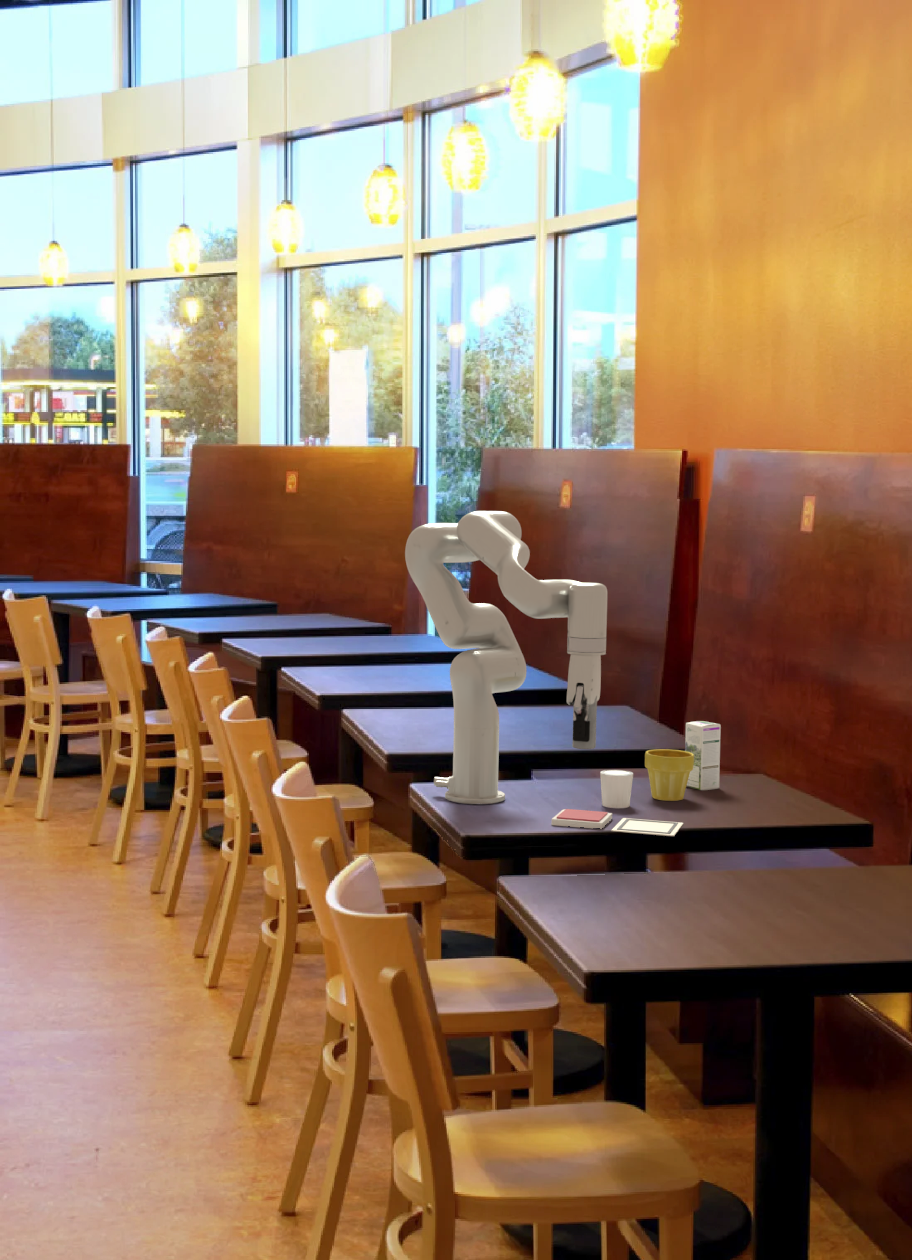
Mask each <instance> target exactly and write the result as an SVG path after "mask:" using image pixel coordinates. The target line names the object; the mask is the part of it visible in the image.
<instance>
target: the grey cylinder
mask: <svg viewBox="0 0 912 1260" xmlns="http://www.w3.org/2000/svg"><path fill="white" fill-rule="evenodd" d="M574 700H575V696H574ZM586 700H587V698H586ZM574 703H575V701H574ZM574 703H573V704H572V705H573V706H572V707H573V709H572V710H573V711H572V712H573V713H572V714H573V715H572V721H573V720H574ZM582 704H583V705H587V703H586V702H582ZM583 709H584V710H585V708H583ZM597 710H598V701H597V696H596V698H595V701H594V703H593V704H592V705H590V706H589V719H588V721H590V740H589V741H588V742H583V741H574V740H573V739H572V742H571V743H572V749H573V748H574V749H578V750H593V749H596V745H597V743H596V742H597V713H598V712H597Z"/></svg>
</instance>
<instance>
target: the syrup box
mask: <svg viewBox="0 0 912 1260" xmlns="http://www.w3.org/2000/svg"><path fill="white" fill-rule="evenodd" d="M721 729H722V727H721V724H720V723H715V722H709V721H704V720H696V721H690V722H685V739H684V740H685V746H684V747H685V748H684V751H686V752H690V753H693V754H694V765H693V770H692V771H690V774H689V778H688V782H687V785H686V788H691V789H694V790H698V791H708V790H709V791H710V790H718V789H720V768H721V767H720V765H721V764H720V763H721V762H720V760H721Z"/></svg>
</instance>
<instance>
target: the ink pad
mask: <svg viewBox="0 0 912 1260" xmlns="http://www.w3.org/2000/svg"><path fill="white" fill-rule="evenodd" d="M611 819H612V820H613V812H608V811H598V810H586V809H585V810H584V809H571V808H565V809H562V810H560V811H559V812H558V813H557V814H556V815H555V816H553V817H552V818H551V822H550V823H551V824H550V825H551V826H558V827H568V826H570V827H571V828H580V827H584V828H583V829H593V828H600V829H599V830H603V829H604V828H605V827H606V826H607V825H608V824H609V823H610V822H611V821H612V820H611ZM609 821H610V822H609ZM607 823H608V824H607ZM606 824H607V825H606ZM605 825H606V826H605ZM570 827H569V828H570ZM602 828H603V829H602Z"/></svg>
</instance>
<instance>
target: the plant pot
mask: <svg viewBox="0 0 912 1260" xmlns="http://www.w3.org/2000/svg"><path fill="white" fill-rule="evenodd" d="M693 765H694V754H693V753H690V752H686V751H685V750H679V749H669V748H666V749H660V748H658V749H649V750H646V751H645V753H644V767H645V768H646V769H647V773H648V779H649V785H650V792H651V793H650V794H651V798H653V799H655V800H659V801H665V802H666V801H667V802H676V801H682V800H684V797H685V792H686V788H687V786H686V785H687V782H688V778H689V774H690V771H692V770H693Z"/></svg>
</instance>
